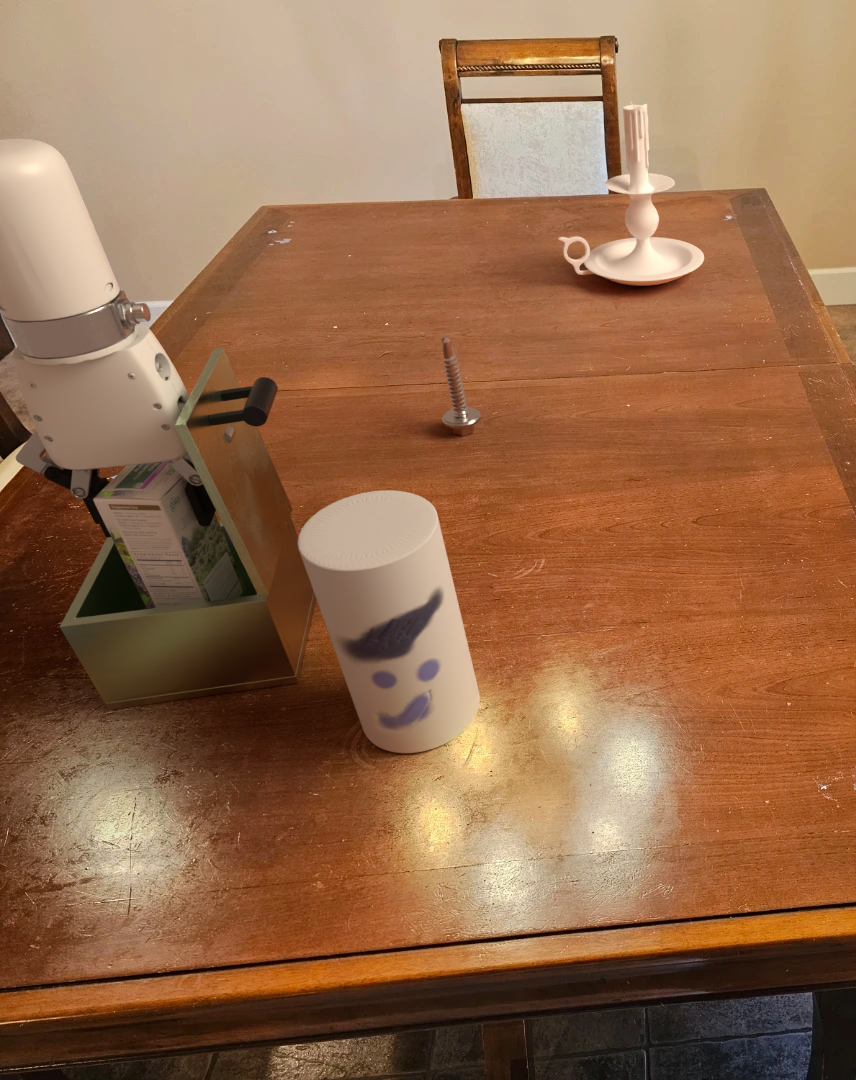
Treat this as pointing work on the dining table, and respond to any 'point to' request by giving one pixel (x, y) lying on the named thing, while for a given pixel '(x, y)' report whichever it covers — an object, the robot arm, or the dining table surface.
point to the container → (393, 617)
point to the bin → (189, 633)
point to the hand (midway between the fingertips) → (163, 520)
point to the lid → (238, 464)
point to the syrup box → (166, 539)
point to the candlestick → (638, 222)
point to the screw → (457, 396)
